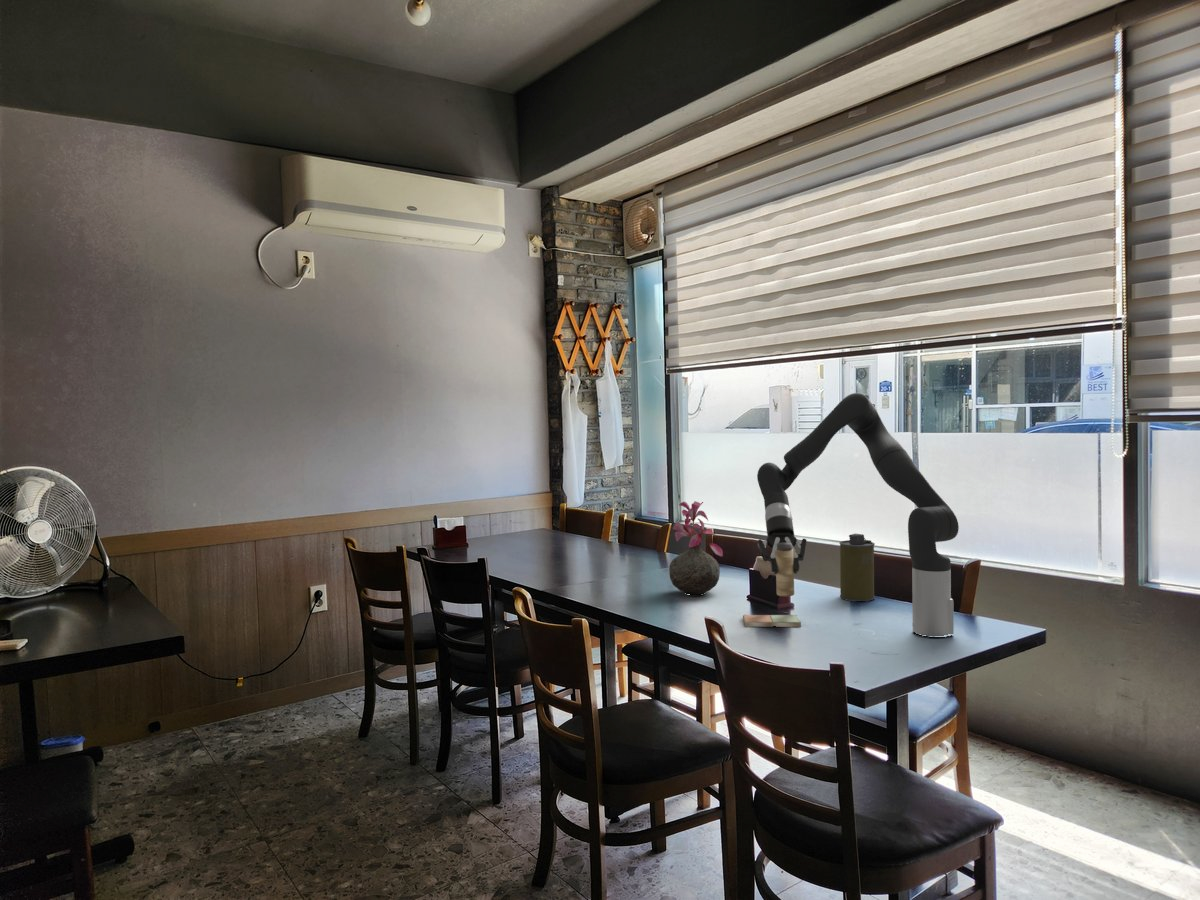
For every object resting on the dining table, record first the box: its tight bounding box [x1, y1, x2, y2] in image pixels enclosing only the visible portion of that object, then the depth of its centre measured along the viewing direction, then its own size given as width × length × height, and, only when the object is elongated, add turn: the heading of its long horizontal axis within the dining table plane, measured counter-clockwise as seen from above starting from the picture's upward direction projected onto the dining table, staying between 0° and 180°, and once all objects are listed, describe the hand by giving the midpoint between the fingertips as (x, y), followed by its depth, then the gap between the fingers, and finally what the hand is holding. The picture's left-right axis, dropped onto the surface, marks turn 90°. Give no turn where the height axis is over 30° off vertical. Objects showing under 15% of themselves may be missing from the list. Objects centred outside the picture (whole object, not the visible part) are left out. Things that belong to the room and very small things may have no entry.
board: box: [742, 614, 802, 628], centre depth 220 cm, size 15×8×1 cm, turn 84°
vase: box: [668, 501, 724, 595], centre depth 256 cm, size 17×17×30 cm
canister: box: [839, 533, 875, 602], centre depth 246 cm, size 11×10×20 cm
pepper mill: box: [775, 542, 795, 597], centre depth 219 cm, size 5×5×14 cm
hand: (785, 571), depth 217 cm, fingers closed on pepper mill, 4 cm apart
